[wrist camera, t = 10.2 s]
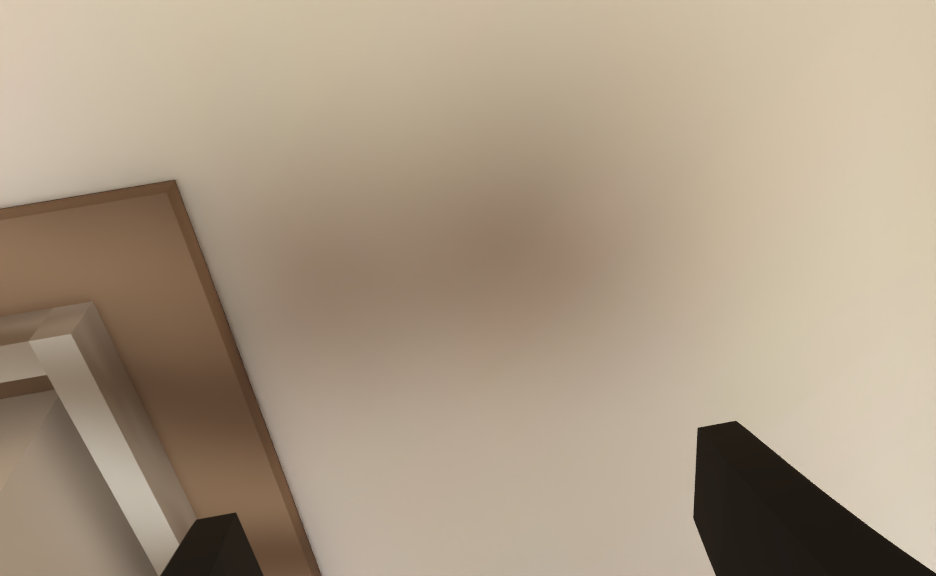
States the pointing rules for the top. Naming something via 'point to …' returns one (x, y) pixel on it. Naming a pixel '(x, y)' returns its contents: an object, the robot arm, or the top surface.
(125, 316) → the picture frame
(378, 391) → the top surface
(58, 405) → the cream rectangular block
